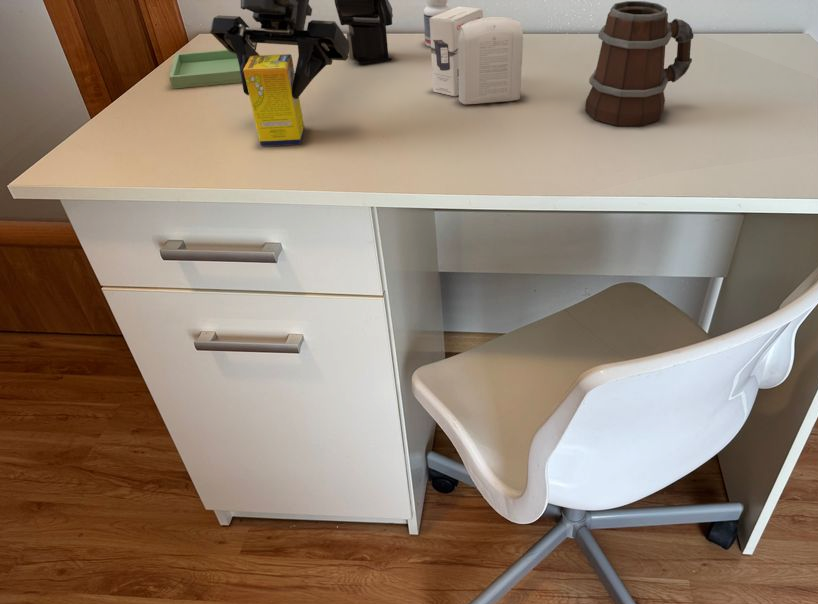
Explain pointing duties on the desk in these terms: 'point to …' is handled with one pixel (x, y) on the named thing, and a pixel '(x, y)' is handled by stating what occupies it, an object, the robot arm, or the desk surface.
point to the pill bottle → (435, 7)
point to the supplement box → (274, 99)
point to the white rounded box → (490, 60)
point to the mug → (636, 64)
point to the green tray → (204, 69)
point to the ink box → (448, 47)
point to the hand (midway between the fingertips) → (270, 95)
